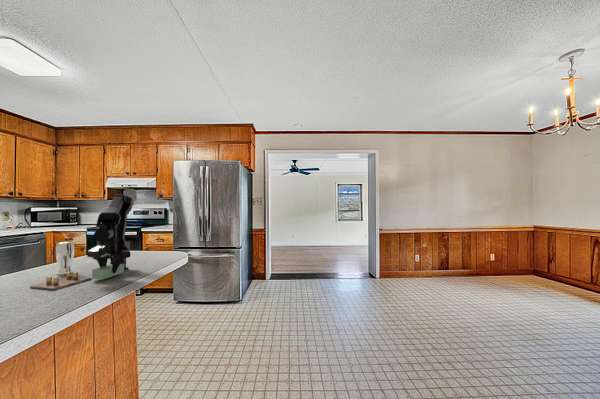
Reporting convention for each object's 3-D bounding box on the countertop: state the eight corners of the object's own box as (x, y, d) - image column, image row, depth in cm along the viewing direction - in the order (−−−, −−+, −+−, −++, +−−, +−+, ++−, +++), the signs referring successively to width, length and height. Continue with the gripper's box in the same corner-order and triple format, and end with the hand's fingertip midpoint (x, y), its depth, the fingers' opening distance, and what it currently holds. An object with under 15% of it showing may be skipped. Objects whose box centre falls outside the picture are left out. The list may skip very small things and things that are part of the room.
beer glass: (77, 271, 138) (78, 241, 138) (64, 275, 131) (65, 243, 131) (65, 271, 139) (65, 241, 139) (51, 274, 132) (51, 243, 132)
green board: (113, 271, 134) (113, 263, 134) (123, 272, 134) (124, 263, 134) (92, 278, 122) (92, 269, 122) (103, 279, 122) (103, 270, 122)
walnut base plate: (70, 277, 128) (70, 269, 128) (91, 279, 125) (91, 271, 125) (30, 288, 112) (30, 278, 112) (53, 290, 110) (53, 281, 110)
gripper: (75, 240, 122) (75, 275, 122) (110, 242, 118) (109, 278, 118) (98, 237, 133) (98, 269, 133) (131, 238, 129) (131, 272, 129)
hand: (108, 272), depth 128 cm, fingers closed on green board, 6 cm apart
